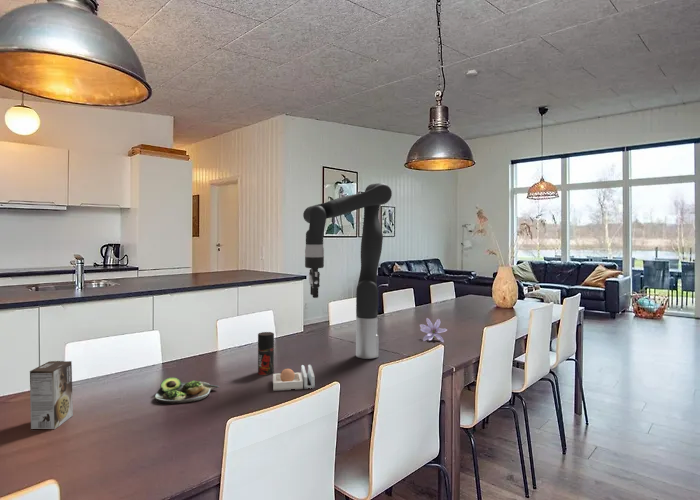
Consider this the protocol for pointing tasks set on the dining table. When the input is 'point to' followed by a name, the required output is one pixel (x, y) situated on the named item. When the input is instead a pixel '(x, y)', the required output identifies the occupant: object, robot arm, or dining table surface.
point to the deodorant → (265, 353)
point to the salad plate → (182, 391)
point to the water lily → (432, 330)
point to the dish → (287, 382)
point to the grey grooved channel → (309, 374)
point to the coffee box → (51, 394)
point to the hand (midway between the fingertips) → (314, 296)
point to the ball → (287, 375)
